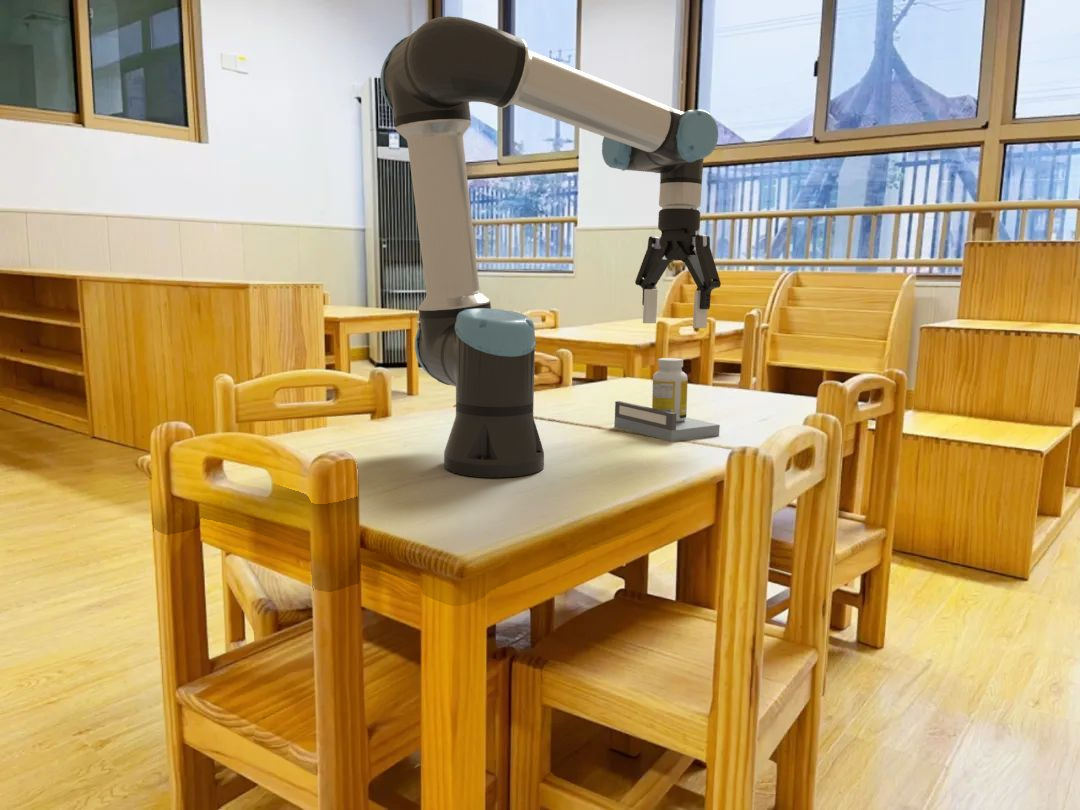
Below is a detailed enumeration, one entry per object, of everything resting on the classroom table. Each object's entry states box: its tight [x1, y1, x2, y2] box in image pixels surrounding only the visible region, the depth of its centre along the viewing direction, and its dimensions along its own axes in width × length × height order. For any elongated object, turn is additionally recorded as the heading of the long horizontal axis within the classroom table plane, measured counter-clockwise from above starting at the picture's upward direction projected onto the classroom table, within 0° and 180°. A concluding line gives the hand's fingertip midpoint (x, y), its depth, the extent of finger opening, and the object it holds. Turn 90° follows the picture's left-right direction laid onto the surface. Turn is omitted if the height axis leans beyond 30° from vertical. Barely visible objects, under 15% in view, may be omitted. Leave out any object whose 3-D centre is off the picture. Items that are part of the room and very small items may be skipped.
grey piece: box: [614, 400, 721, 442], centre depth 153 cm, size 12×16×5 cm
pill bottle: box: [651, 357, 688, 422], centre depth 153 cm, size 6×6×12 cm
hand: (673, 325), depth 151 cm, fingers open, 13 cm apart
